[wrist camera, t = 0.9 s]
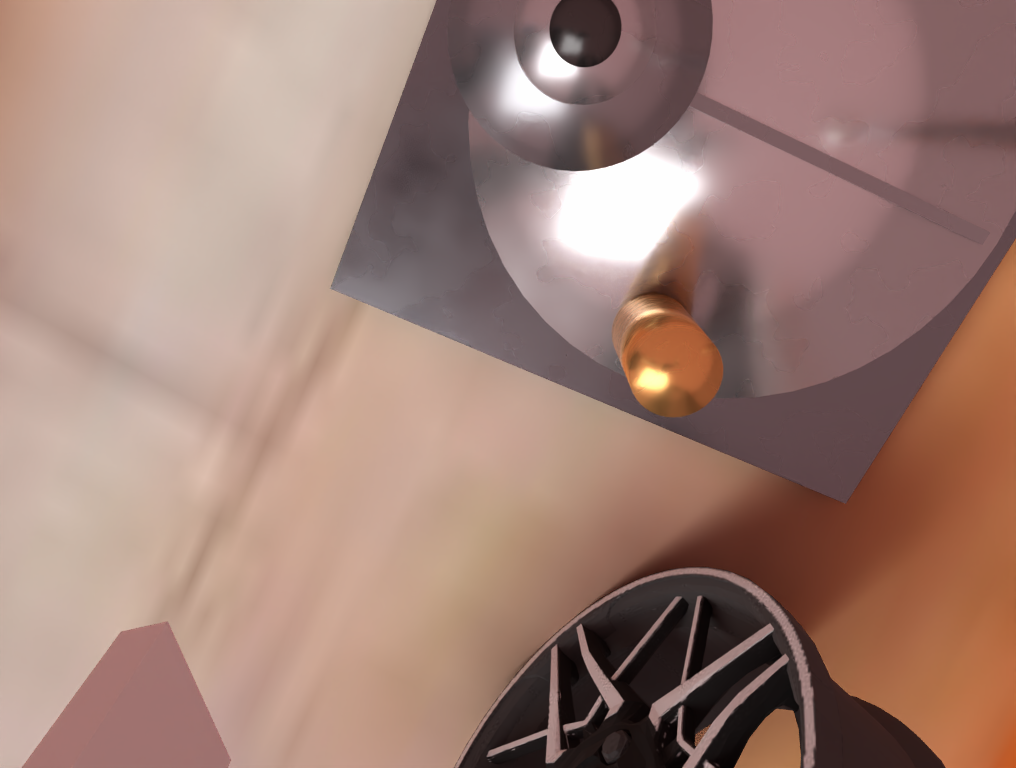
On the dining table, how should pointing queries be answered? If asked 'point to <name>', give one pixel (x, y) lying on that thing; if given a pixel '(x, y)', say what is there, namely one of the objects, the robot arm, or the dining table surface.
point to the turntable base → (541, 350)
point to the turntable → (777, 201)
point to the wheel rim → (682, 687)
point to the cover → (578, 73)
